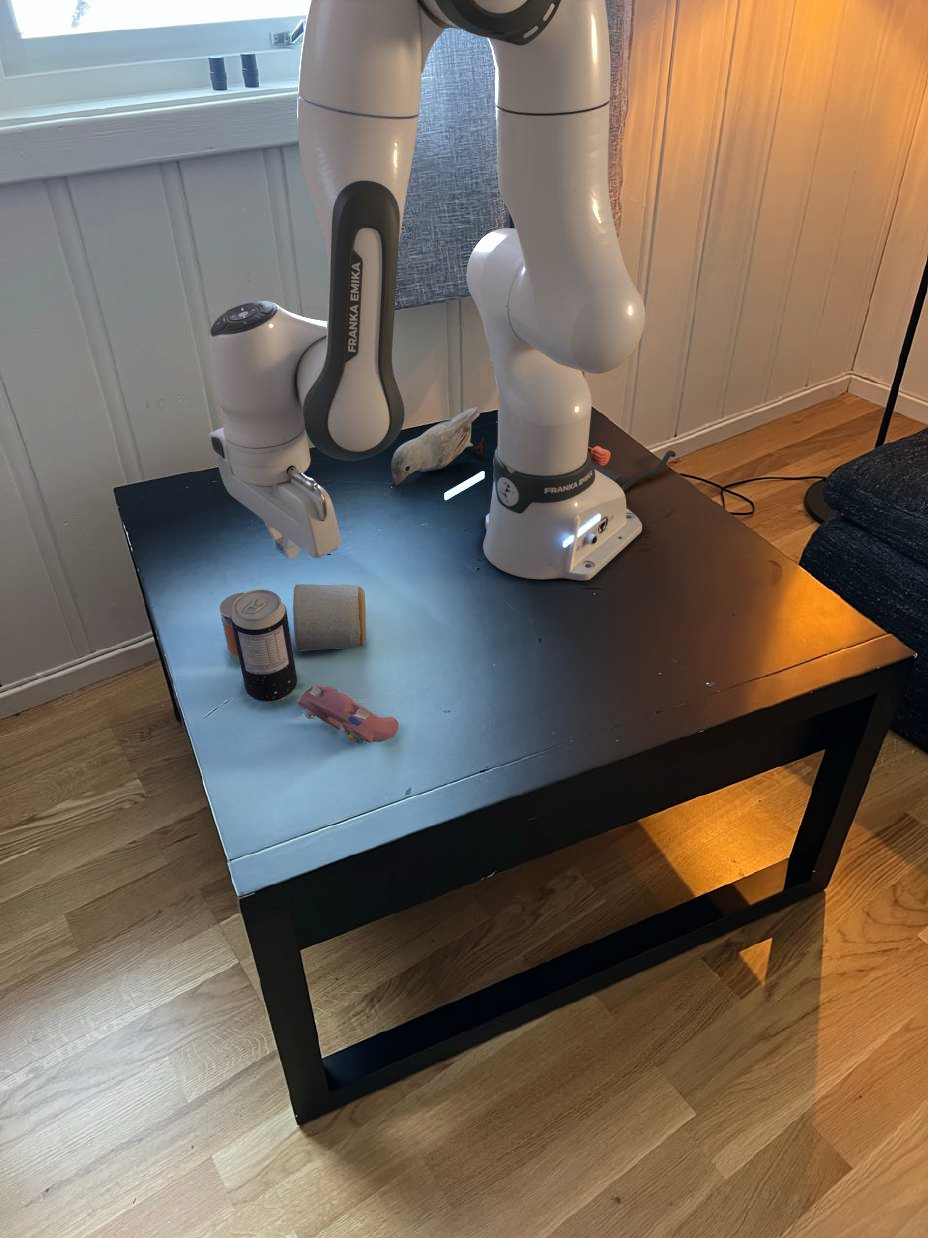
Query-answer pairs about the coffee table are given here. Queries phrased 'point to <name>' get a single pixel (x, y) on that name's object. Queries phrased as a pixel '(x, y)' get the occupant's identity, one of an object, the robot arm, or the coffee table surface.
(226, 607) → the food tin
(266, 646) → the beverage can
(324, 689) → the red toy car
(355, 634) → the ceramic mug
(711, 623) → the coffee table surface
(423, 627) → the coffee table surface
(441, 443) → the decorative bird
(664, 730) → the coffee table surface
